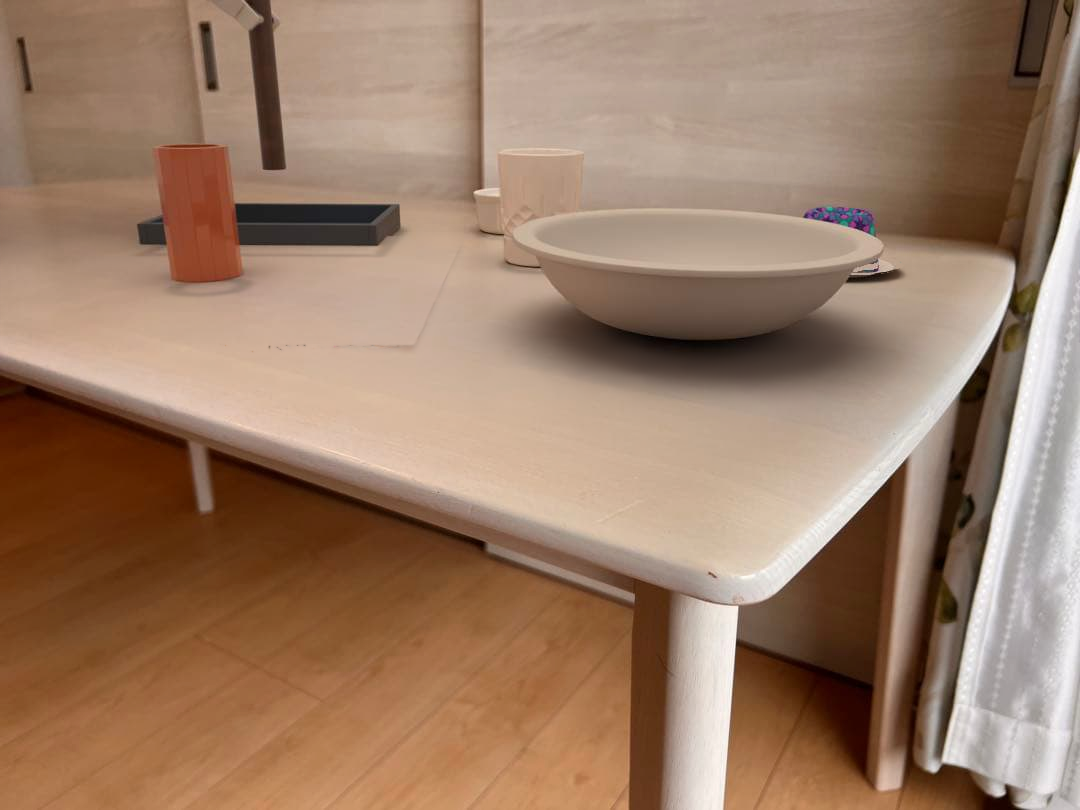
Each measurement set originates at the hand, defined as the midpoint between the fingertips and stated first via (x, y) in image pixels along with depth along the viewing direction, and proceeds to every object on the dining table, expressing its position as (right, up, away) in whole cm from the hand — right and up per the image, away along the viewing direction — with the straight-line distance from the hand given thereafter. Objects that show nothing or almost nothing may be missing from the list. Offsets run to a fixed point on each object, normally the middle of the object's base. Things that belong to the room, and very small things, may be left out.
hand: (266, 27), depth 86 cm
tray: (-1, -20, +7) cm, 21 cm away
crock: (-1, -27, -13) cm, 30 cm away
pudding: (+54, -25, -6) cm, 60 cm away
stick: (-1, -13, +5) cm, 14 cm away
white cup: (+27, -24, -4) cm, 37 cm away
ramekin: (+24, -18, +13) cm, 33 cm away
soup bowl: (+37, -33, -26) cm, 56 cm away
